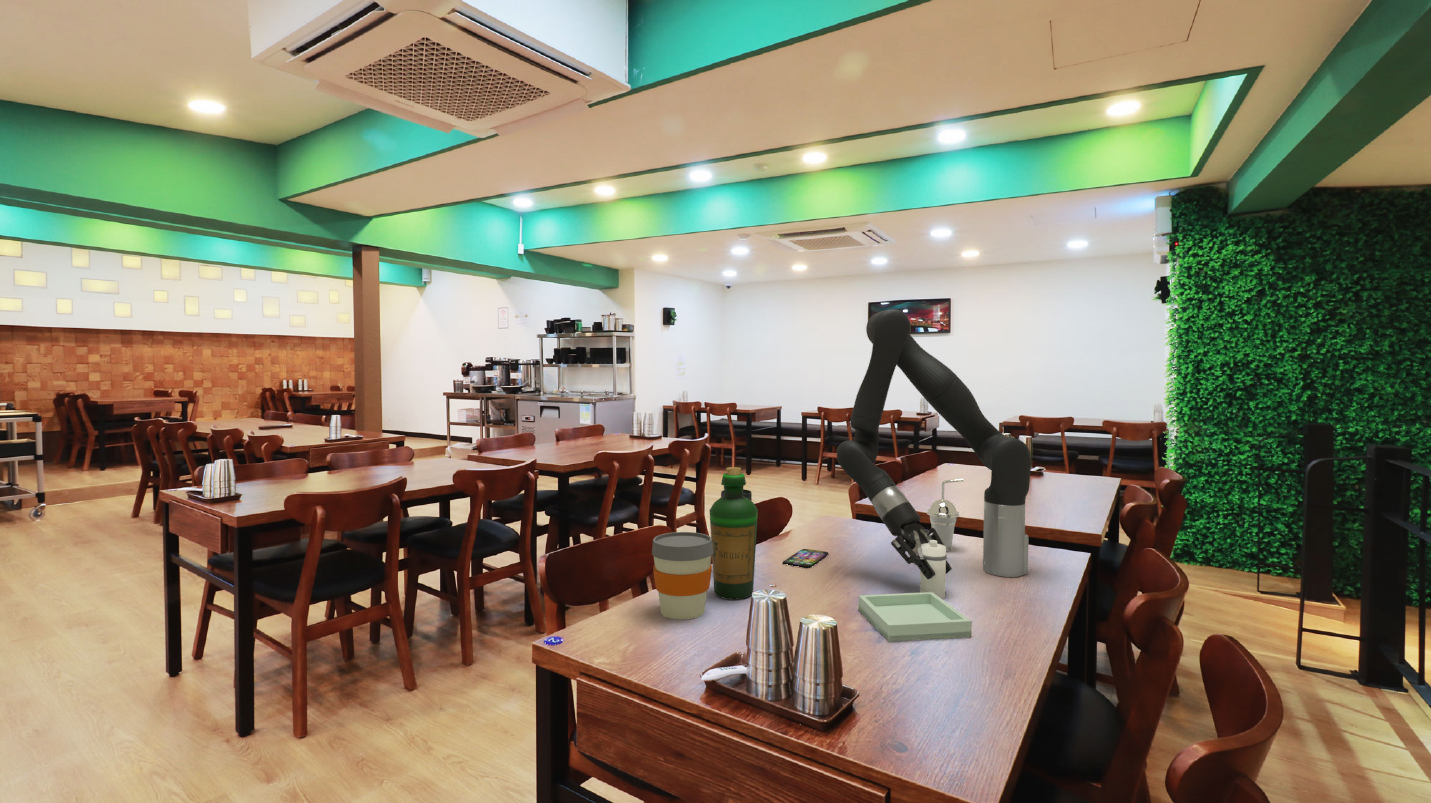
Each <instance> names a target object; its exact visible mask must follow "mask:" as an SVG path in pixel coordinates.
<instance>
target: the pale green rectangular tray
mask: <svg viewBox="0 0 1431 803" xmlns="http://www.w3.org/2000/svg"><path fill="white" fill-rule="evenodd" d="M858 611H859V612H860V613H861V614H862V615H863V617H864V618H865V619H866V620H868V621H869V622H870V624H871V625H872V626H874V628H875V629H876V630H877V632H879V634H881V635H882V636H883V637H884V638H885V640H886V641H887V642H889V643H891V642H906V641H908V642H909V641H921V640H924V641H925V640H940V639H941V640H942V639H955V638H956V639H957V638H958V639H959V638H960V639H961V638H972V637H973V636H972V635H973V633H972V632H973V631H972V629H973V625H972V623H973V621H972V619H970V618H969V617H967V616H966V615H964V614H963V613H962V612H961V611H959V610H958V609H956V608H954V606H952V605H951V604H949V603H948V602H947V601H946V600H944V599H941V598H940V597H938V596H937V595H936V594H934V593H933V592H924V593H920V592H905V593H904V592H903V593H887V594H886V593H882V594H867V595H866V594H865V595H864V594H862V595H858Z"/></svg>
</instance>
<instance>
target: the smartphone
mask: <svg viewBox="0 0 1431 803" xmlns="http://www.w3.org/2000/svg"><path fill="white" fill-rule="evenodd" d="M827 555H828V556H829V552H828V551H823V550H816V549H809V548H803V549H800V550H798V551H796V552H795V553H794V554H792V555H791V556H789V557H787V558H786V559H785V560H783V561H782V565H783V564H788V565H793V566H792V567H794V566H799V567H798V568H800V567H802V569H812V568H813V567H814V566H816V565H818V563H820V562H821V561H823V560H824V559H825V558H826V556H827ZM828 556H827V557H828ZM822 559H823V560H822ZM819 561H820V562H819ZM815 564H816V565H815ZM812 566H813V567H812Z"/></svg>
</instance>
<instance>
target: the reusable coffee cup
mask: <svg viewBox="0 0 1431 803" xmlns="http://www.w3.org/2000/svg"><path fill="white" fill-rule="evenodd" d="M651 548H652V549H651V555H652V556H653V560H654V561H653V562H654V564H653V566H652V567H653V568H652V569H653V575H654V576H653V577H654V578H653V579H654V584H655V589H656V592H658V598H659V599H658V600H659V601H658V602H659V606H660V613H661V615H662V616H664V617H665V618H668V619H672V620H679V621H680V620H682V621H683V620H693V619H696V618H699V617H701V616H703V615H704V614H705V611H706V610H705V609H706V601H707V593H708V590H709V589H710V586H711V579H712V572H713V564H712V563H711V562H712V554H713V545H712V538H711V535H710V536H709V535H708V534H705V533H700V532H695V531H694V532H693V531H676V532H667V533H663V534H659V535H656V536H654V538H653V539H652V547H651ZM702 614H703V615H702Z"/></svg>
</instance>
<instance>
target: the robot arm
mask: <svg viewBox="0 0 1431 803" xmlns="http://www.w3.org/2000/svg"><path fill="white" fill-rule="evenodd" d="M865 327H866V328H865V331H866V336H867V339H868V340H869V341H870V343H871V344H872V348H871V356H870V360H869V363H868V366H867V369H866V371H865V372H866V373H865V375H864V376H863V379H862V382H861V384H860V386H859V388H858V391H857V394H856V396H855V400H854V405H853V408H852V412H851V416H850V422H849V425H850V427H851V428H852V429H853V430H854V431H855V433H854V439H849V440H848V439H847V440H845V441H842V442H841V443H840V444H839V445H838V446H837V448H836V459H837V461H838V462H837V463H839V466H840V467H841V469H842V470H843V471H844V472H845V473H846V474H847V475H848V476H849V478H851V479H852V480H853V481H854V482H855V483H856V484H857V485H858V486H859V487H860V488H861V489H862V491H863V493H864V494H865V495H866V496H865V497H867V499H868V500H869V501H870V503H871V504H872V506H873V508H874V510H875V512H876V514H877V515H878V517H879V518H880V519H881V521H882V522H883V524H884V525H885V526H886V528H887V530H888V531H889V532H890V534H891V535H892V536H894V537H895V538H894V539H893V540H892V541H891V542H890V544H891V546H892V547H893V548H894V549H895V551H896V552H897V553H898V554H899V556H900V557H902V559H903V560H904V561H905V562H906V563H907V564H908V565H910V564H913V565H914V566H917V568H918V569H919V570H920V573H921V572H922V573H923V575H924V576H925V577H926V578H927V579H931V578H932V577H933V576H935V572H934V570H933V569H932V568H931V566H930V565H929V563H928V562H927V560H926V559H925V560H923V559H924V556H923V553H922V547H921V544H925V543H930V540H936V541H937V544H941V545H944V544H943V542H942V541H941V539H940V537H939V535H938V534H937V532H936V530H935V529H934V528H932V527H931V528H930V529H926V528H925V527H923V525H921V523H920V522H921V516H920V514H919V513H918V512H917V510H916V509H915V508H914V506H913V505H912V503H911V502H910V501H909V500H908V498H907V496H906V495H905V494H904V492H903V491H901V489H900V488H899V486H898V485H896V484H895V482H894V480H893V479H892V478H891V476H890V475H889V474H888V473H887V472H886V471H885V470H884V469H882V468H880V467H878V466H877V465H876V464H875V462H876V460H877V458H878V453H879V439H880V438H879V437H880V433H879V429H880V424H881V422H882V417H883V413H884V409H885V404H886V402H887V401H886V400H887V397H888V393H889V390H890V385H891V381H892V379H893V376H894V372H895V370H896V367H898V369H900V371H902V373H903V374H904V376H906V378H907V379H908V380H909V382H910V383H911V384H912V385H913V386H914V388H915V389H916V390H917V391H918V392H919V393H920V395H921V396H922V398H924V400H926V401H927V403H928V404H929V405H930V406H931V408H933V409H934V410H935V411H936V413H938V414H939V415H940V416H941V417H942V418H943V419H944V420H945V422H947V424H949V426H951V427H952V428H953V429H954V430H955V431H957V433H958V434H959V435H961V437H962V438H963V439H964V440H965V441H966V443H967V444H968V445H969V447H970V448H971V449H972V451H973V452H974V454H975V455H976V456H977V457H978V459H979V461H981V463H982V464H983V465H984V466H985V467H986V468H987V469H988V470H990V471H991V472H990V473H991V474H990V475H991V476H990V483H989V487H987V488H986V489H985V490H984V492H983V493H984V494H983V500H984V501H983V540H982V541H983V545H982V546H983V547H982V548H983V549H982V550H983V551H982V553H983V555H982V570H983V572H985V573H987V574H990V575H993V576H998V577H1004V578H1006V577H1007V578H1018V577H1022V576H1024V575H1028V574H1029V537H1030V536H1029V535H1028V534H1026V498H1027V495H1028V493H1029V490H1030V482H1031V481H1030V480H1031V469H1032V468H1031V465H1032V464H1031V460H1032V459H1031V458H1032V457H1031V452H1030V448H1029V447H1028V445H1027V444H1026V443H1025V442H1024V441H1022V440H1021V439H1018V438H1014V437H1011V436H1006V435H1005V434H1003V433H1002V432H1001V431H1000V430H999V429H997V428H996V427H995V426H994V425H993V424H992V423H991V422H990V421H989V420H988V419H987V417H986V416H985V415H984V414H983V412H982V410H981V408H980V406H979V405H978V403H977V400H976V398H975V397H974V395H973V393H972V391H971V390H970V389H969V387H968V386H967V385H966V384H965V383H964V382H963V380H961V378H959V377H958V375H957V374H956V373H955V372H954V371H953V370H952V369H951V368H950V367H949V366H947V365H945V363H943V362H942V361H940V360H939V359H937V358H936V357H934V356H933V355H932V354H930V353H929V352H927V351H926V350H925V349H923V347H921V345H920V344H918V341H916V339H915V338H914V337H913V336H912V335H911V321H910V319H909V317H908V315H906V314H905V313H904V312H903V311H902V310H900V309H896V308H895V309H894V308H891V309H885V310H881V311H879V312H877V313H875V314H873V315H872V316H871V317H869V319H868V320H867V323H866V326H865ZM906 552H907V553H906ZM950 571H952V567H951V564H950V563H949V561H948V560H947V559H946V575H947V574H948V573H951V572H950Z"/></svg>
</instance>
